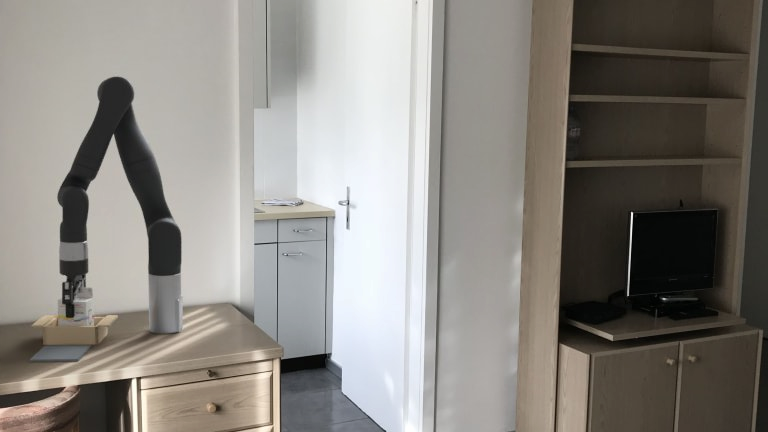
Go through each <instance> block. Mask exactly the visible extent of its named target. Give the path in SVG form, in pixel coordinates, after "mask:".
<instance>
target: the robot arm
mask: <svg viewBox="0 0 768 432" xmlns="http://www.w3.org/2000/svg"><path fill="white" fill-rule="evenodd" d="M97 99H98V101H99V102H98V106H97V110H96V113H95V114H94V115H95V116H94V118H93V121H92V123H91V125H90V127H89V129H88V130H87V132H86V134H85V136H84V137H83V140H82V141H81V143H80V146H79V148H78V150H77V152H76V154H75V157H74V158H73V159H74V160H73V162H72V164H71V167H70V169H69V171H68V172H67V174H66V176H65V177H64V179H63V181H62V182H61V185H60V187H59V189H58V192H57V194H56V195H57V197H56V198H57V203H58V204H59V205H60V207H62V208H61V209H62V210H61V211H62V214H61V215H62V216H61V217H62V221H61V222H60V224H59V248H58V249H59V250H58V253H59V256H58V259H59V262H58V263H59V265H58V266H59V267H58V268H59V274H60V275H61V276H65V277H66V281H62V282H61V298H62V304H65V306H66V318H73V317H74V316H75V306H74V303H75V298H76V297H78V293H84V291H80V287H87V277H86V276H87V274H88V273H89V247H88V246H89V244H88V230H87V229H88V227H87V224H88V218H89V217H88V216H89V209H90V199H89V195H88V193H87V190H88V188H89V186H90V184H91V182H93V181H94V180H95V179H96V177H97V176H98V174H99V171H100V169H101V166H102V164H103V161H104V158H105V157H106V153H107V152H108V148H109V146H110V143H111V140H112V139H113V136H114V141H115V145H116V148H117V152H118V157H119V158H120V163H121V164H122V168H123V170H124V173H125V177H126V179H127V181H128V184H129V186H130V188H131V190H132V192H133V194H134V196H135V198H136V200H137V202H138V204H139V206H140V209H141V212H142V213H141V214H142V216H143V220H144V224H145V229H146V235H147V243H148V252H147V253H148V263H147V265H148V266H147V271H148V272H147V273H148V280H147V281H148V327H149V328H148V331H149V332H150V333H153V334H158V335H159V334H161V335H162V334H174V333H181V331H182V329H183V327H184V322H183V321H184V318H183V316H184V313H183V309H184V308H183V295H182V273H181V272H182V271H181V270H182V242H183V241H182V233H181V231H182V230H181V229H180V227H179V226H178V223H176V221H175V219H174V216H173V215H172V212H171V210H170V208H169V206H168V203H167V201H166V197H165V194H164V186H163V182H162V176H161V173H160V169H159V165H158V162H157V159H156V157H155V153H154V151H153V149H152V147H151V145H150V143H149V141H148V139H147V138H146V136H145V134H144V133H143V130H142V129H141V127H140V125H139V123H138V121H137V117H136V113H135V110H134V107H133V101H134V99H135V88H134V85H132V83H131V82H130V81H129V79H127V78H125V77H123V76H111V77H108V78H106V79H104V80H103V81H102V82H101V83H100V84H99V86H98V88H97ZM69 297H70V300H69V299H68V298H69Z"/></svg>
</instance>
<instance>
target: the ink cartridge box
mask: <svg viewBox="0 0 768 432" xmlns="http://www.w3.org/2000/svg"><path fill="white" fill-rule="evenodd" d="M80 291H84V293H78V297H76V298H75V303H74V306H75V316H74V317H73V318H66V306H65V304H62V297H61V298H59V299H57V317H58V326H94V317H95V315H94V314H95V312H94V311H95V310H94V309H95V307H94V306H95V305H94V303H95V302H94V295H93V294H94V293H93V288H92V287H87V286H86V287H80ZM68 299H69V300H70V297H69V298H68Z"/></svg>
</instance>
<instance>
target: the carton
mask: <svg viewBox="0 0 768 432" xmlns="http://www.w3.org/2000/svg"><path fill="white" fill-rule="evenodd" d="M118 318H119V315H118V314H117V315H116V314H109V315H108V314H107V315H106V316H94V326H58V316H56V315H55V314H54V315H53V314H51V315H49V314H47V315H45V314H44V315H42V317H40V318H39V319H38V320H36V321H35V322H33V324H31V328H42V337H43V339H42V341H43V342H42V343H43V344H42V345H44V346H59V345H95V346H96V345H100V343H101V342H102V341H103V340H105V338H106V336H107V335H108V334H109V328H110V327H111V326H112V325H113V323H114V322H115V321H116V320H117V319H118Z"/></svg>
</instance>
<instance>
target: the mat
mask: <svg viewBox="0 0 768 432" xmlns="http://www.w3.org/2000/svg"><path fill="white" fill-rule="evenodd" d="M91 348H92V346H91V345H44V346H43V347H42V348H41V349H40V350H38V351H37V352H36V353H35V354H34V355H33V356H32V357H31V358H30V359H29V363H31V362H38V363H40V362H41V363H42V362H43V363H44V362H47V363H48V362H79V361H80V360H81V359H82V358H83V356H85V355H86V353H87V352H89V350H90V349H91Z"/></svg>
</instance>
